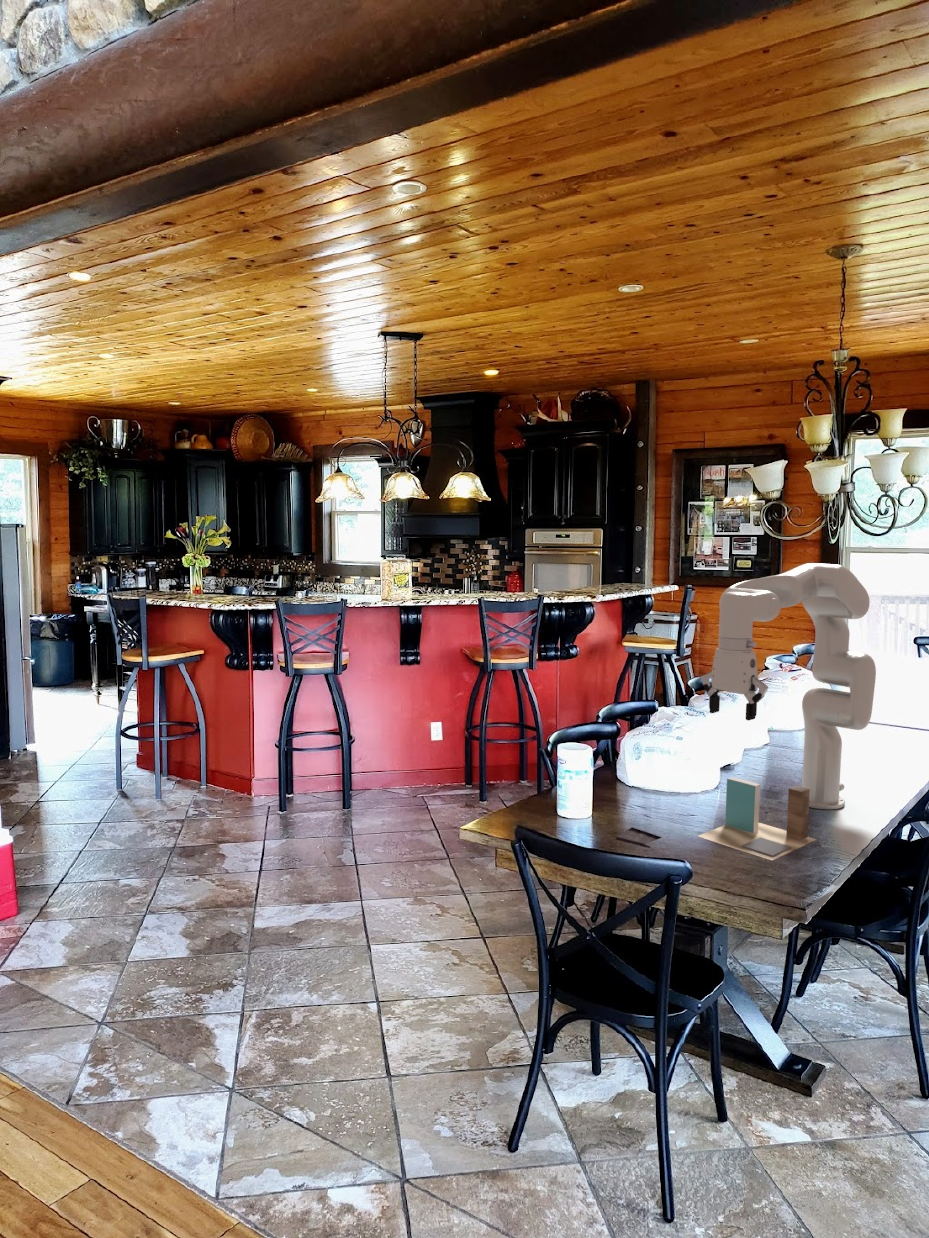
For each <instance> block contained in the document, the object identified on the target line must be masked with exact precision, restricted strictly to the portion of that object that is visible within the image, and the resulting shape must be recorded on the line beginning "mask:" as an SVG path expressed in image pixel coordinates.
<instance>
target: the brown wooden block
mask: <svg viewBox="0 0 929 1238" xmlns="http://www.w3.org/2000/svg"><path fill="white" fill-rule="evenodd" d="M809 795H810V789H808V788H804V787H802V786H799V785H793V786H791V787H789V788H788V797H787V818H786V831H787V834H786V837H789V838H793V839H796V840H799V841H800V840H802V839H804V838H807V837H808V831H809V815H810V814H809V812H810V811H809V810H810V807H809Z"/></svg>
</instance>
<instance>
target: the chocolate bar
mask: <svg viewBox="0 0 929 1238" xmlns="http://www.w3.org/2000/svg"><path fill="white" fill-rule="evenodd" d="M662 838H663V837H662V836H659V835H656V834H653V833H650V832H648V831H645V830H641V829H638V828H636V827H630V828H629V829H627V830H625V831H624V832H623V831H622V832H621V833H620V834H618V835H617V836H615V839H617V840H618V841H619V840H620V841H623V842H628V843H631V844H635V845H638V844H640V846H642V845H643V847H646V846H647V848H651V846H649V845H646V844H648V843H651V842H654V841H657V840H659V839H662Z"/></svg>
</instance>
